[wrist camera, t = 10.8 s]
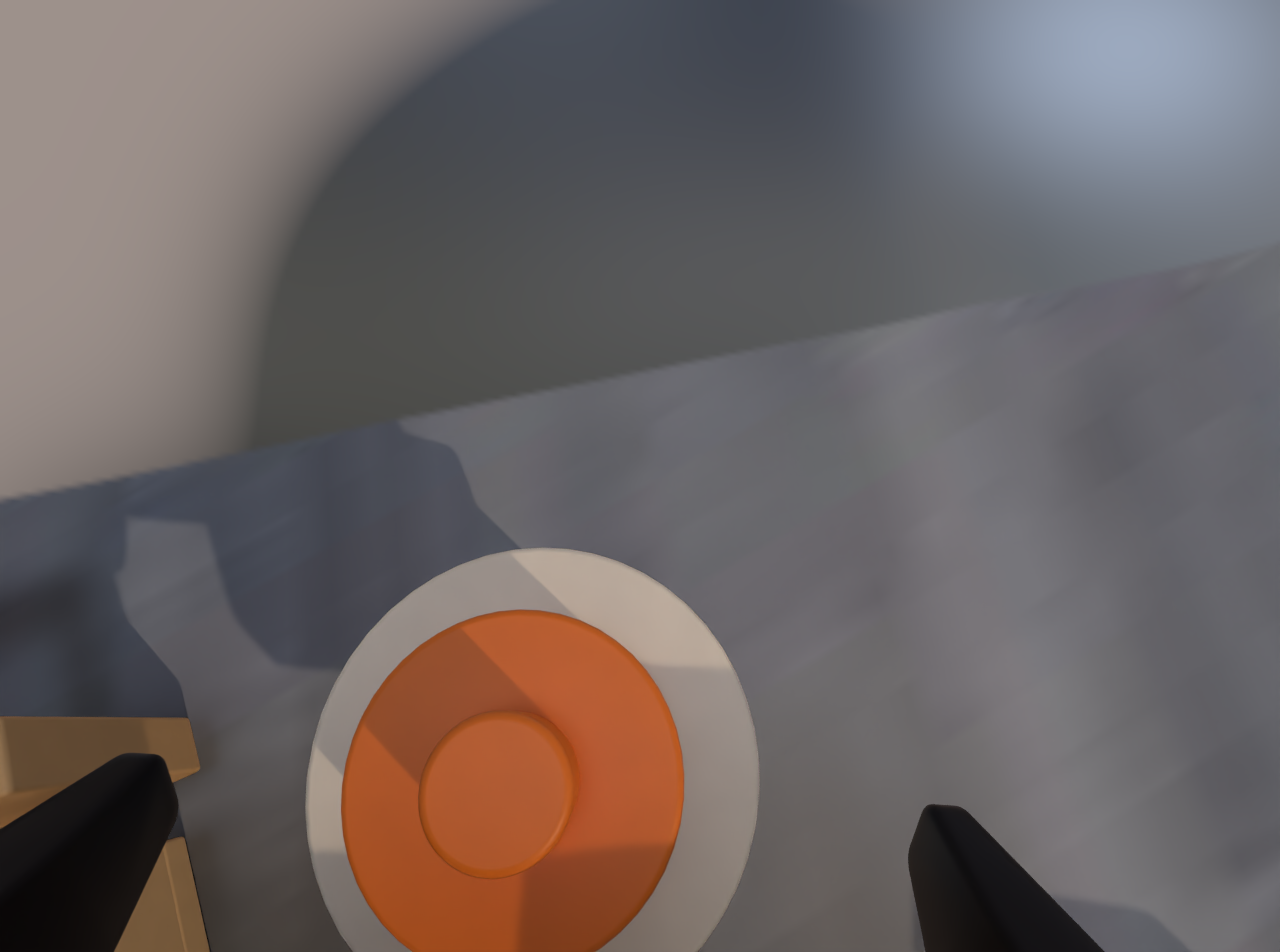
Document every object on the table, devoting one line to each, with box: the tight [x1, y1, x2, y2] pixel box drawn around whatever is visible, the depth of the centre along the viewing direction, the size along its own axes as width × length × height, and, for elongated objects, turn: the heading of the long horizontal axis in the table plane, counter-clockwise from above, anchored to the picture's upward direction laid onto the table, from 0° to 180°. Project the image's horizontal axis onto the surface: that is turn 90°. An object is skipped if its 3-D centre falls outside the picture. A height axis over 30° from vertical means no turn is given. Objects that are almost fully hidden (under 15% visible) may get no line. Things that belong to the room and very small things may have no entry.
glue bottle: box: [305, 548, 760, 952], centre depth 10 cm, size 4×4×12 cm
